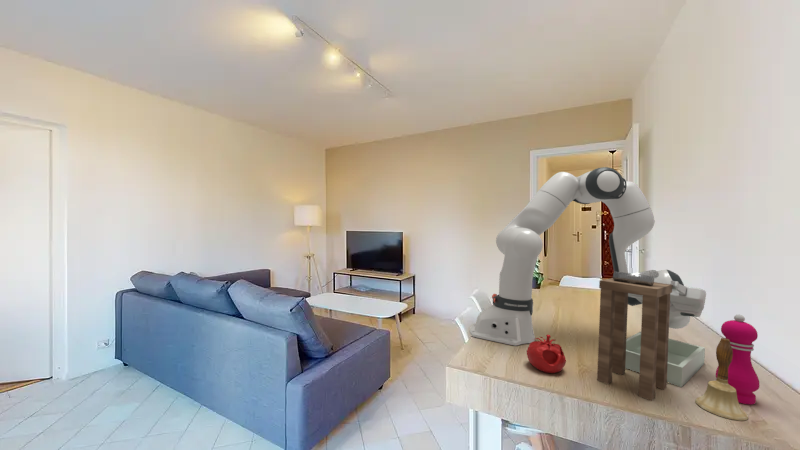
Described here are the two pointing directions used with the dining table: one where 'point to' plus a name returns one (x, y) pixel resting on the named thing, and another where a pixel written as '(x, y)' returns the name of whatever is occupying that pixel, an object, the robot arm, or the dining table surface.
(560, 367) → the pomegranate
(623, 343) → the stand
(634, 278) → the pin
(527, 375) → the dining table surface
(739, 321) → the pepper mill
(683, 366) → the tray
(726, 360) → the hand bell
